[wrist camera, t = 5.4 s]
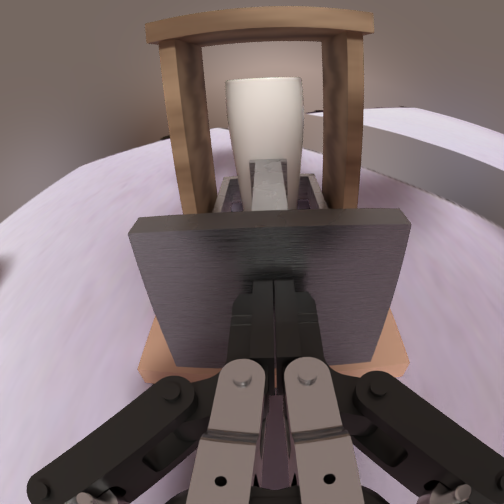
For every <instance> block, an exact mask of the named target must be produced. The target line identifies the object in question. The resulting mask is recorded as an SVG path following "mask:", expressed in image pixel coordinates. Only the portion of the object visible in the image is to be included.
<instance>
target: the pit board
mask: <svg viewBox="0 0 504 504" xmlns="http://www.w3.org/2000/svg"><path fill="white" fill-rule="evenodd" d="M409 363H410V362H409V359H408V356H407V353H406V350H405V347H404V344H403V342H402V339H401V336H400V333H399V331H398V328H397V325H396V323H395V320H394V317H393V315H392V312H391V309H390V308H389V311H388V314H387V317H386V320H385V323H384V326H383V329H382V332H381V335H380V338H379V341H378V343H377V346H376V349H375V352H374V354H373V357H372V360H371V362H364V363H354V364H344V365H332V366H330V367H331V368H332V369H333V370H335V371H336V372H338V373H341V374H344V375H349V376H354V377H359V378H360V377H361V376H362V375H364V374H365V373H367V372H370V371H384V372H387V373H389V374H390V375H392V376H393V377H401V376H403V374H404V372H405V370H406V369H407V367H408V365H409ZM221 370H222V369H221V368H193V367H177V366H176V364H175V362H174V359H173V357H172V355H171V352H170V350H169V348H168V345H167V343H166V340H165V338H164V335H163V333H162V330H161V328H160V325H159V323H158V320H157V318H156V315H155V318H154V321H153V324H152V327H151V330H150V333H149V336H148V339H147V342H146V345H145V348H144V351H143V354H142V357H141V360H140V363H139V366H138V371H139V373H140V374H141V376H142V378H143V379H144V381H145V382H146V383H156V382H157V381H159V380H160V379H162V378H164V377H167V376H181V377H184V378H186V379H187V380H189V381H190V382H191V383H192V382H196V381H200V380H204V379H207V378H210V377H212V376H214V375H216V374H217V373H219V372H220V371H221ZM275 388H277V377H276V368H275Z"/></svg>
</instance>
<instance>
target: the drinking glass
mask: <svg viewBox="0 0 504 504" xmlns="http://www.w3.org/2000/svg"><path fill="white" fill-rule="evenodd" d="M225 84H226V108H227V118H228V126H229V133H230V139H231V145H232V150H233V156H234V161H235V167H236V172H237V178H238V184H239V189H240V195H241V201H242V207H243V211H251V210H252V195H251V181H250V167H249V161H250V160H259V159H287V187H288V210H296V209H297V207H298V195H299V182H300V170H301V157H302V144H303V129H304V103H303V90H302V79H301V78H300V77H274V78H252V79H238V80H227V81H226V82H225Z"/></svg>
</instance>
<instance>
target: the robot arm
mask: <svg viewBox="0 0 504 504" xmlns="http://www.w3.org/2000/svg"><path fill="white" fill-rule="evenodd" d="M274 293H275V334H276V377H277V395H283V422H284V431H285V440H286V449H287V458H288V476H289V487H288V488H284V489H280V490H270V489H265V488H261V482H262V470H263V455H264V446H265V436H266V426H267V415H268V412H269V395H275V367H274V318H273V282H272V279H266V280H253V292H252V294H239V295H238V297H237V298H236V300H235V301H234V303H233V306H232V317H231V326H230V333H229V342H228V351H227V359H226V363H225V365H224V367H223V368H222V370H221V371H220V372H219V373H217V374H216V375H214V376H212V377H210V378H207V379H204V380H200V381H196V382H192V383H191V382H190V381H189V380H187V379H186V378H184V377H181V376H167V377H164V378H162V379H160V380H159V381H157V382H156V383H155V384H154V385H152V386H151V387H150V388H149V389H147V390H146V391H145V392H144V393H142V394H141V395H140V396H139V397H137V398H136V399H135V400H133V401H132V402H131V403H130V404H128V405H127V406H126V407H125V408H123V409H122V410H121V411H119V412H118V413H117V414H115V415H114V416H113V417H112V418H110V419H109V420H108V421H106V422H105V423H104V424H102V425H101V426H100V427H98V428H97V429H96V430H94V431H93V432H92V433H91V434H89V435H88V436H86V437H85V438H84V439H82V440H81V441H80V442H78V443H77V444H76V445H74V446H73V447H72V448H70V449H69V450H68V451H66V452H65V453H63V454H62V455H61V456H59V457H58V458H56V459H55V460H54V461H52V462H51V463H49V464H48V465H47V466H45V467H44V468H42V469H41V470H40V471H38V472H37V473H35V474H34V475H33V476H31V478H30V479H29V481H28V484H27V495H28V498H29V501H30V502H31V504H130V503H131V502H132V501H134V500H135V499H136V498H138V497H139V496H140V495H141V494H143V493H144V492H145V491H147V490H148V489H149V488H150V487H152V486H153V485H154V484H155V483H157V482H158V481H159V480H160V479H162V478H163V477H164V476H165V475H166V474H168V473H169V472H170V471H171V470H172V469H174V468H175V467H176V466H177V465H178V464H179V463H181V462H182V461H183V460H184V459H185V458H186V457H187V456H189V455H190V454H191V453H192V452H193V451H194V450H195V449H196V448H198V449H197V454H196V459H195V463H194V468H193V473H192V477H191V482H190V487H189V489H188V490H185V491H183V492H181V493H179V494H177V495H176V496H174V497H173V498H171V499H170V500H169V501H167V502H166V503H165V504H389V503H388V502H387V501H386V500H385V499H384V498H382V497H381V496H380V495H379V494H378V493H376V492H374V491H373V490H371V489H369V488H367V487H364V486H361V483H360V478H359V473H358V468H357V463H356V458H355V454H354V449H353V444H354V445H355V446H356V447H357V448H358V449H359V450H361V451H362V452H363V453H364V454H365V455H366V456H368V457H369V458H370V459H371V460H372V461H374V462H375V463H376V464H377V465H378V466H380V467H381V468H382V469H383V470H385V471H386V472H387V473H388V474H390V475H391V476H392V477H393V478H395V479H396V480H397V481H398V482H400V483H401V484H402V485H403V486H405V487H406V488H407V489H409V490H410V491H411V492H412V493H414V494H415V495H416V496H418V497H419V499H418V501H417V503H416V504H504V457H502V456H501V455H500V454H498V453H497V452H495V451H494V450H493V449H491V448H490V447H488V446H487V445H486V444H484V443H483V442H481V441H480V440H479V439H477V438H476V437H475V436H473V435H472V434H470V433H469V432H468V431H466V430H465V429H464V428H462V427H461V426H459V425H458V424H457V423H455V422H454V421H453V420H451V419H450V418H449V417H447V416H446V415H444V414H443V413H442V412H440V411H439V410H438V409H436V408H435V407H434V406H432V405H431V404H430V403H428V402H427V401H426V400H424V399H423V398H421V397H420V396H419V395H417V394H416V393H415V392H413V391H412V390H411V389H409V388H408V387H407V386H405V385H404V384H403V383H401V382H400V381H399V380H397V379H396V378H395V377H393V376H392V375H390V374H389V373H387V372H384V371H370V372H367V373H365V374H364V375H362V376H361V377H360V378H359V377H354V376H349V375H344V374H341V373H338V372H336V371H335V370H333V369H332V368H331V367H330V366H329V365H328V364H327V362H326V360H325V358H324V353H323V346H322V340H321V333H320V327H319V323H318V315H317V309H316V303H315V300H314V299H313V298H312V296H311V295H310V294H309V292H295V287H294V279H293V278H292V279H274Z"/></svg>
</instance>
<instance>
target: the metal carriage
mask: <svg viewBox="0 0 504 504" xmlns="http://www.w3.org/2000/svg"><path fill="white" fill-rule="evenodd" d="M249 167H250V181H251V195H252V210H251V211H239V212H230V211H231V206H232V202H242V201H241V195H240V189H239V184H238V178H237V176H232V177H224V178H223V181H222V184H221V187H220V190H219V193H218V196H217V199H216V202H215V206H214V209H213V212H212V213H200V214H183V215H168V216H154V217H140V218H138V220H137V221H136V223H135V224H134V225H133V227H132V228H131V230H130V231H129V233H128V236H129V239H130V243H131V246H132V249H133V252H134V255H135V258H136V262H137V265H138V268H139V271H140V274H141V276H142V279H143V282H144V285H145V288H146V291H147V294H148V296H149V299H150V302H151V305H152V307H153V310H154V313H155V315H156V318H157V320H158V323H159V325H160V328H161V330H162V333H163V335H164V338H165V340H166V343H167V345H168V348H169V350H170V352H171V355H172V357H173V359H174V362H175V364H176V366H177V367H193V368H221V369H222V368H223V367H224V365H225V363H226V359H227V351H228V342H229V333H230V326H231V317H232V306H233V303H234V301H235V300H236V298H237V297H238V295H239V294H252V292H253V280H266V279H272V282H273V318H274V367H275V368H276V334H275V293H274V279H292V278H293V279H294V287H295V292H309V294H310V295H311V296H312V298H313V299H314V300H315V303H316V309H317V315H318V323H319V327H320V333H321V340H322V346H323V353H324V358H325V360H326V362H327V364H328V365H329V366H332V365H344V364H354V363H364V362H371V360H372V357H373V354H374V352H375V349H376V346H377V343H378V341H379V338H380V335H381V332H382V329H383V326H384V323H385V320H386V317H387V314H388V311H389V308H390V305H391V302H392V298H393V295H394V292H395V288H396V285H397V281H398V278H399V274H400V270H401V266H402V263H403V259H404V255H405V251H406V246H407V242H408V238H409V233H410V229H411V223H410V222H409V220H408V219H407V218H406V216H405V215H404V214H403V212H402V211H401V210H400V209H387V208H360V209H328V207H327V204H326V202H325V199H324V197H323V194H322V192H321V190H320V187H319V185H318V182H317V180H316V178H315V175H314V174H300V182H299V195H298V200H308V202H309V206H310V209H296V210H288V187H287V159H259V160H250V161H249Z"/></svg>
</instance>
